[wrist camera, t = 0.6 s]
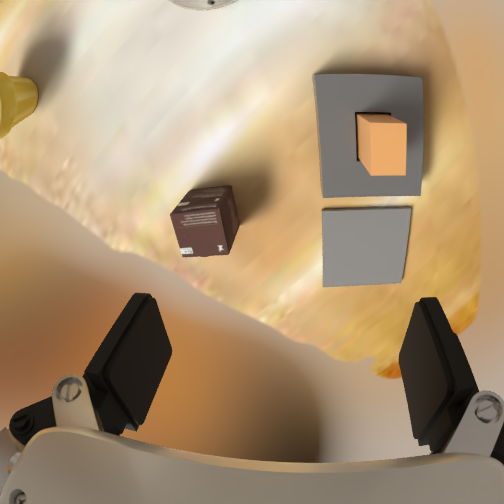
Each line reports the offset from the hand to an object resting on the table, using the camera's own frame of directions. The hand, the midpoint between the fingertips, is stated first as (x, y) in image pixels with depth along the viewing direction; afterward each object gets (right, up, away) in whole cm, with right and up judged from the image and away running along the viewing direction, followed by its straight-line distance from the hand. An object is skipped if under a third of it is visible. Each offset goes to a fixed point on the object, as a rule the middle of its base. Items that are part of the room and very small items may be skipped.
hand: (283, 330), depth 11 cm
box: (-6, +9, +31) cm, 33 cm away
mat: (+14, +3, +31) cm, 34 cm away
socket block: (+12, +17, +23) cm, 31 cm away
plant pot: (-36, +27, +24) cm, 52 cm away
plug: (+12, +17, +22) cm, 31 cm away
